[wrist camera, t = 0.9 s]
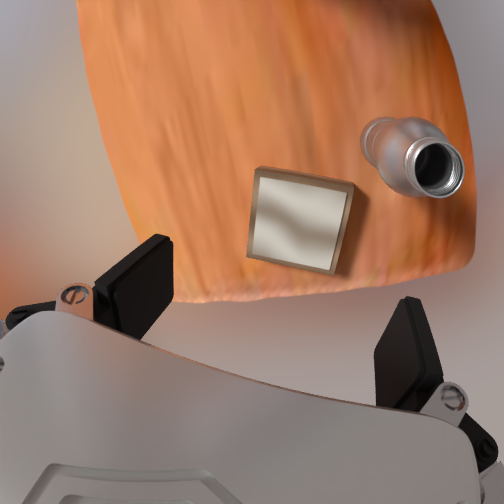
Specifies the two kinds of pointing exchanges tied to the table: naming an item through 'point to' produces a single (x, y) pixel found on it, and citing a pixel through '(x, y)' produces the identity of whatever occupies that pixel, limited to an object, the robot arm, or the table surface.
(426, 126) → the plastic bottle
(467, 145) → the table surface
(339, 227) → the plinth
